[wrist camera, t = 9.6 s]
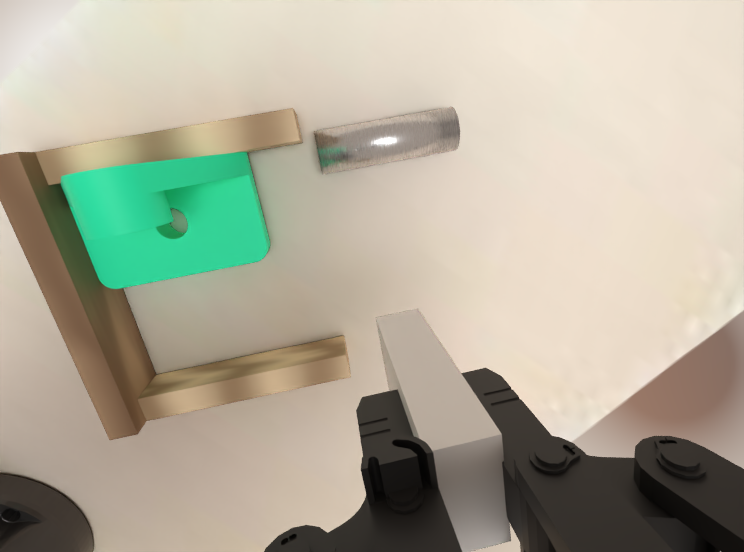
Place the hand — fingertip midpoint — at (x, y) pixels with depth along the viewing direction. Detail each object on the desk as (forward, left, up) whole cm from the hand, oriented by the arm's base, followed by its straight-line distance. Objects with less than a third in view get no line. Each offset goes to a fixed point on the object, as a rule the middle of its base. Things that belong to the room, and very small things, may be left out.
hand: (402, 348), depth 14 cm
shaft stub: (+3, +8, -16) cm, 18 cm away
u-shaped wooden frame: (-12, 0, -19) cm, 22 cm away
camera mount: (-13, +4, -19) cm, 23 cm away
